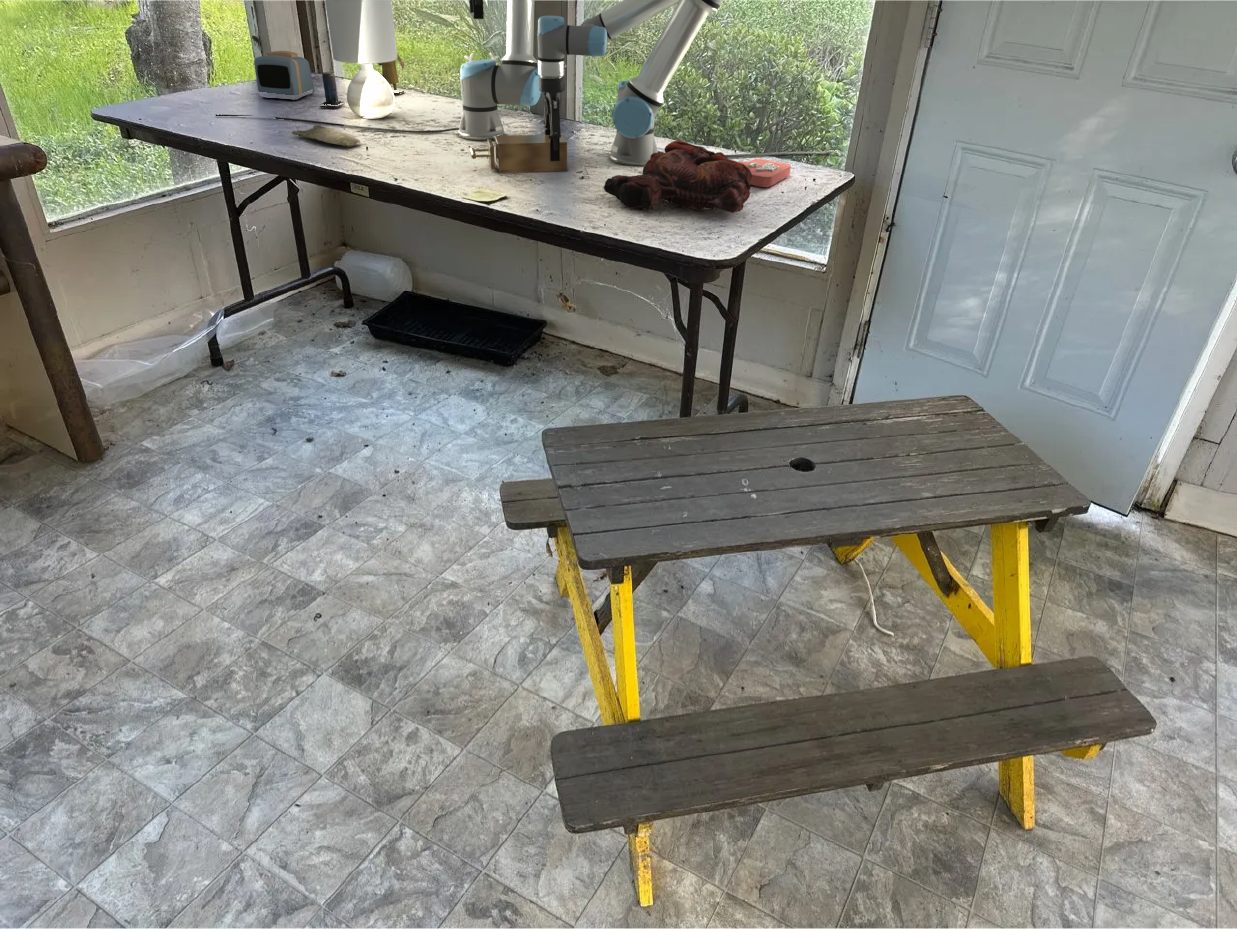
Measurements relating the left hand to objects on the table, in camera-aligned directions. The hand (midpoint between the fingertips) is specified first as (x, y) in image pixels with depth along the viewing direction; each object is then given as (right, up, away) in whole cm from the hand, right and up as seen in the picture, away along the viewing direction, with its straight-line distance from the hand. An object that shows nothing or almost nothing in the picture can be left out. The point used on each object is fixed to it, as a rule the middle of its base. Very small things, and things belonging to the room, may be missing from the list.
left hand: (476, 15), depth 233 cm
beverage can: (-68, +11, +85) cm, 109 cm away
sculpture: (+55, -53, -2) cm, 76 cm away
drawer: (+7, -33, +23) cm, 41 cm away
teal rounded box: (-90, +20, +97) cm, 134 cm away
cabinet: (+13, -33, +25) cm, 43 cm away
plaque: (+81, -37, +22) cm, 92 cm away
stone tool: (-55, -18, +43) cm, 73 cm away
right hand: (+19, -30, +24) cm, 43 cm away
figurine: (-51, +25, +107) cm, 121 cm away
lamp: (-50, +3, +74) cm, 89 cm away
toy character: (-12, +10, +87) cm, 88 cm away
